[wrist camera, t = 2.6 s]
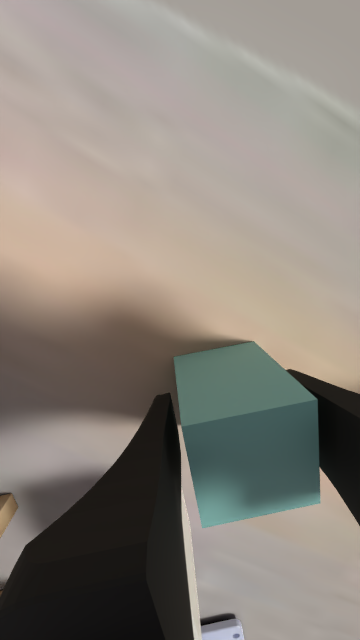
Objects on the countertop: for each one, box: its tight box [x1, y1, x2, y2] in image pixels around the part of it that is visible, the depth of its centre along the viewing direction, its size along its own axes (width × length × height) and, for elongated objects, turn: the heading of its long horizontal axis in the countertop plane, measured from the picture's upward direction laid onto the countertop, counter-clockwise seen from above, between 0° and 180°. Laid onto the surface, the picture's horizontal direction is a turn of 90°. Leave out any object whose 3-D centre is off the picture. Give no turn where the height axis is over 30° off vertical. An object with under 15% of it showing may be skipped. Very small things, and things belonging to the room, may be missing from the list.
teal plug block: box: [174, 341, 320, 528], centre depth 10 cm, size 4×4×5 cm
